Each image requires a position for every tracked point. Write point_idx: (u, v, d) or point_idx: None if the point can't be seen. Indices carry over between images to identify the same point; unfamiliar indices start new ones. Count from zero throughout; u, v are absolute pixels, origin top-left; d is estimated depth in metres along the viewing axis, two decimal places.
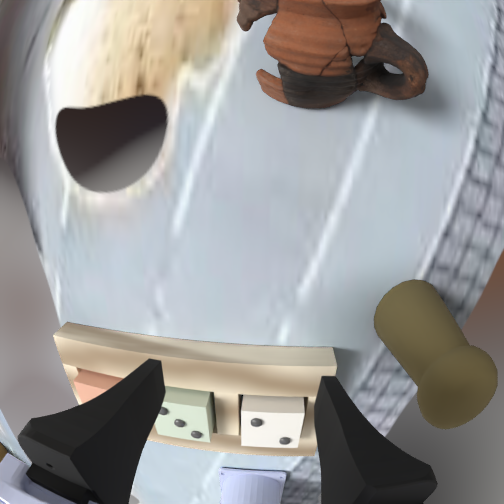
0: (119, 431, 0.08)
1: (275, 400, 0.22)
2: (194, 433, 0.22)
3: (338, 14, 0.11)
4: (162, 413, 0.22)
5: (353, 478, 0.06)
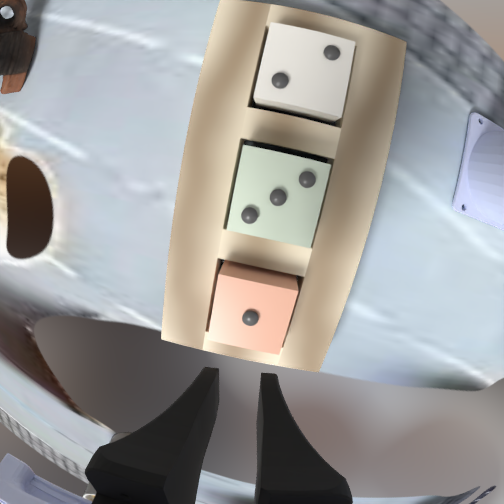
0: (192, 447, 0.08)
1: None
2: (302, 180, 0.16)
3: None
4: (253, 216, 0.17)
5: (259, 479, 0.07)
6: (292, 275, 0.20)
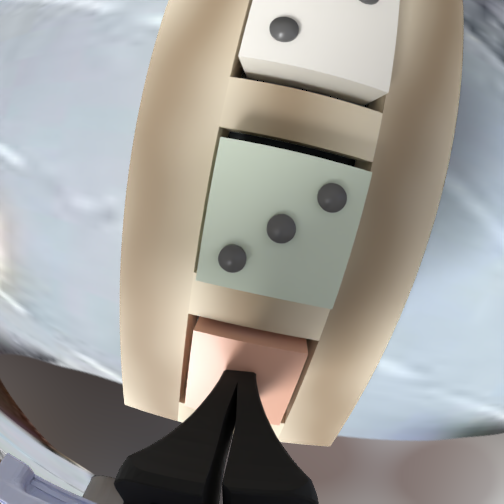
0: (219, 452, 0.08)
1: None
2: (323, 199, 0.09)
3: None
4: (239, 260, 0.10)
5: None
6: None
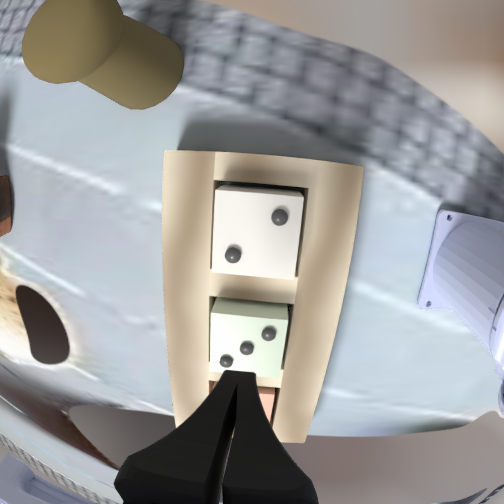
0: (219, 452, 0.08)
1: None
2: (264, 336, 0.19)
3: None
4: (229, 363, 0.20)
5: None
6: None
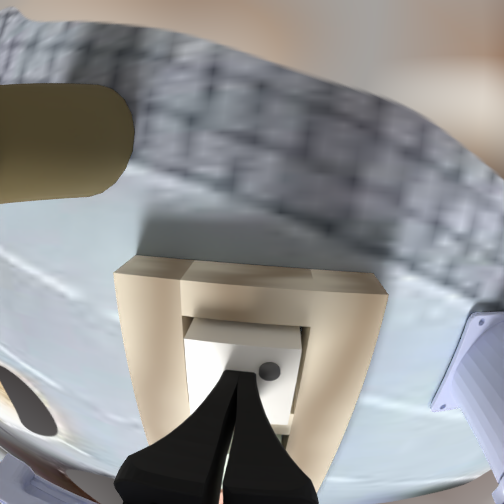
0: (219, 452, 0.08)
1: None
2: None
3: None
4: None
5: None
6: None
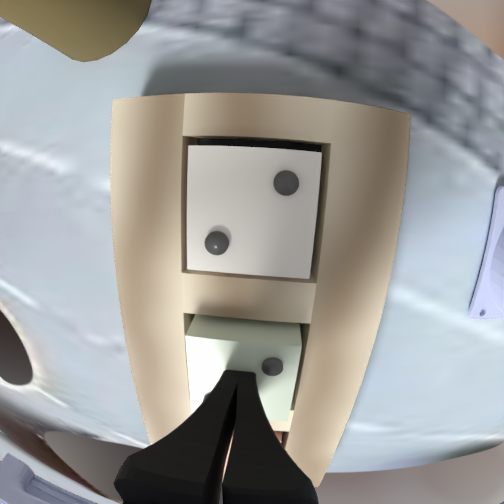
0: (219, 452, 0.08)
1: None
2: (265, 369, 0.12)
3: None
4: None
5: None
6: None
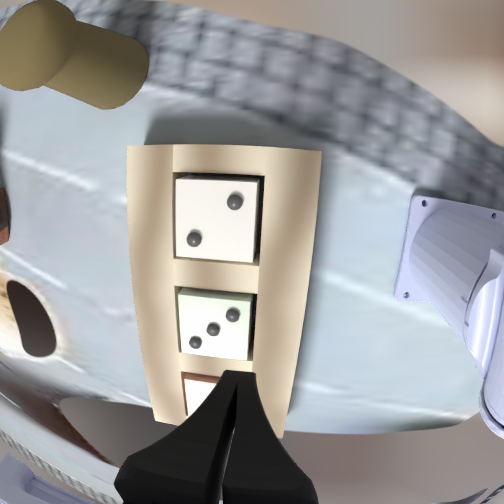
0: (219, 452, 0.08)
1: None
2: (228, 317, 0.20)
3: None
4: (198, 344, 0.21)
5: None
6: None
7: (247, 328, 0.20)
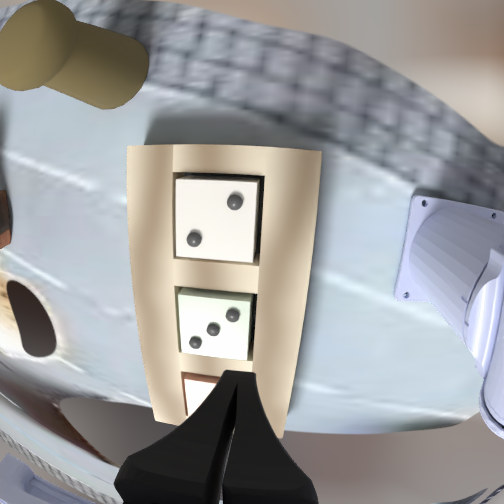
0: (219, 452, 0.08)
1: None
2: (228, 317, 0.20)
3: None
4: (198, 344, 0.21)
5: None
6: None
7: (247, 328, 0.20)
